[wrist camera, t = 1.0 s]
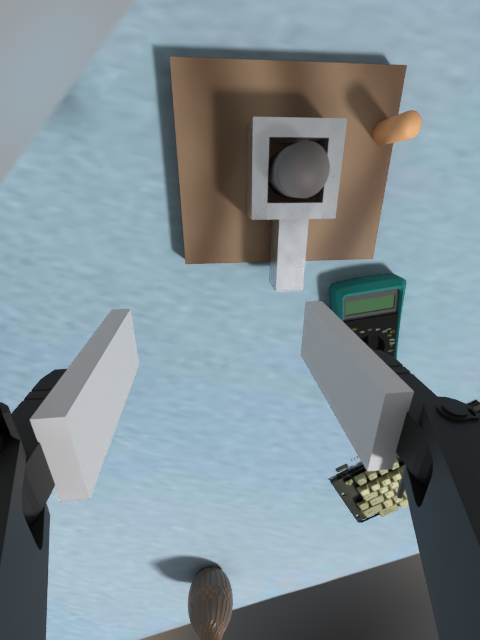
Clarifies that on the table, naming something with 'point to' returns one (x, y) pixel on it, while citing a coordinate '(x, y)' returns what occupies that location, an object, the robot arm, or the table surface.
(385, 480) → the keyboard
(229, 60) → the board
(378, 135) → the dowel pin
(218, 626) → the vase
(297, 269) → the grey frame piece
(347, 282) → the digital multimeter
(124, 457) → the table surface
